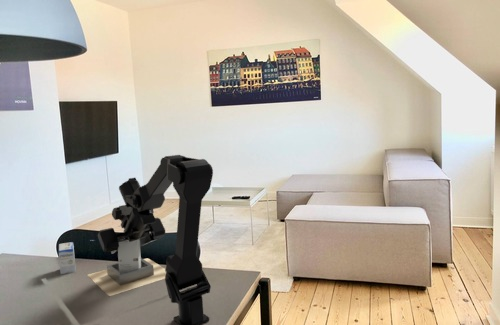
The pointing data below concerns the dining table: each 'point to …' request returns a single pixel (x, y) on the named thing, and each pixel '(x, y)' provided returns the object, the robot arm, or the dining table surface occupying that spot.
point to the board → (114, 288)
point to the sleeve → (130, 273)
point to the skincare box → (129, 256)
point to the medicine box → (66, 258)
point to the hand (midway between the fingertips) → (126, 248)
